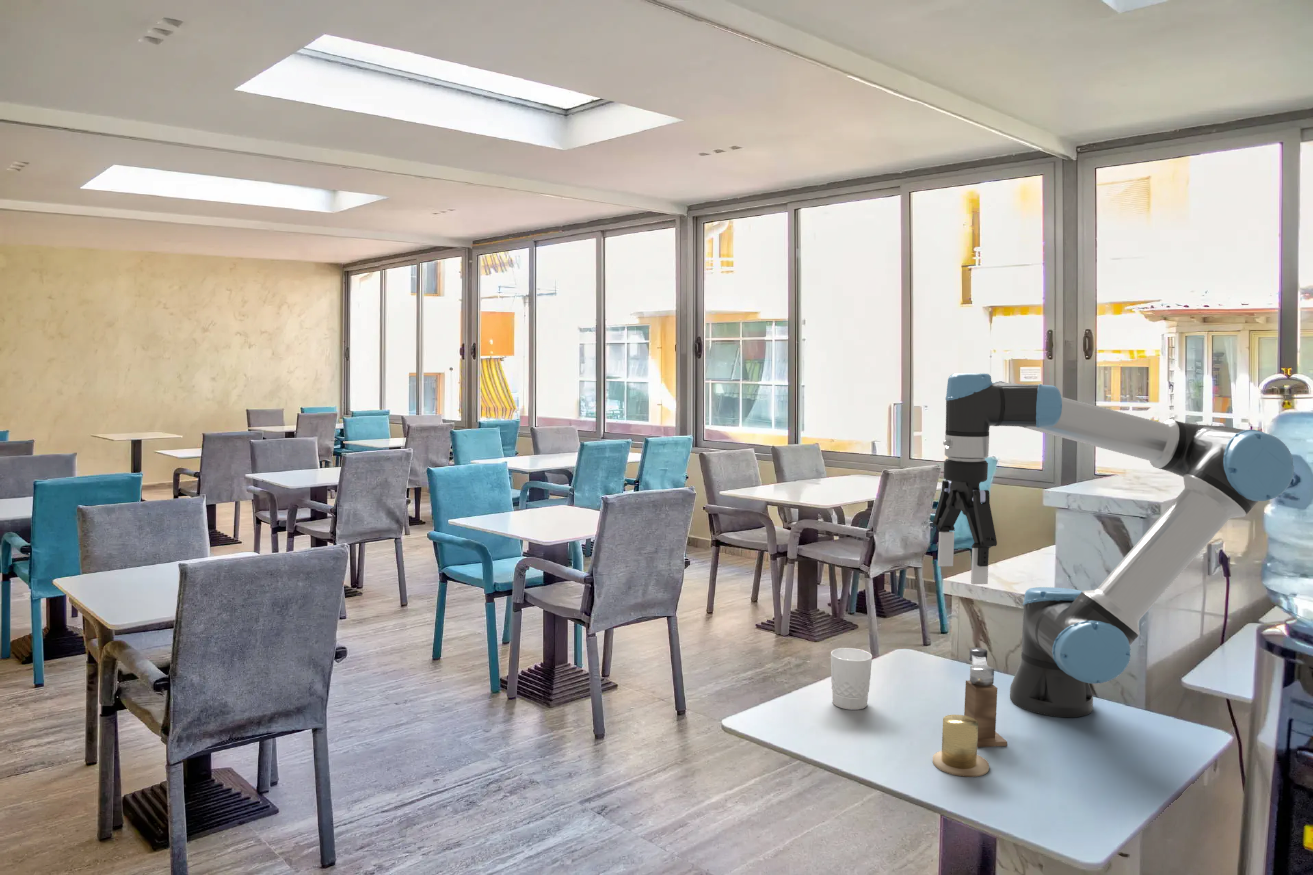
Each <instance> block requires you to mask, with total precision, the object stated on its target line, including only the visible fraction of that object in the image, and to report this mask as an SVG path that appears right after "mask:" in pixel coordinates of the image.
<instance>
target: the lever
mask: <svg viewBox="0 0 1313 875" xmlns="http://www.w3.org/2000/svg"><path fill="white" fill-rule="evenodd" d="M968 657H969V658H968V661H970V662H971V665H970V666H969V667H970V669H969V680H970V682H972V683H974V684H977V685H985V686H987V685H992V684H993V685H994V680H995V679H994V676H995V668H993V667H992V666H989V665H988V650H987V649H986V648H983V647H978V646H977V647H970V648H969V656H968Z"/></svg>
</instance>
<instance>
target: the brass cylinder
mask: <svg viewBox="0 0 1313 875" xmlns="http://www.w3.org/2000/svg"><path fill="white" fill-rule="evenodd" d="M941 734H942V737H941V751H942V756H941V760H942V762H943V763H944V764H946V765H948V766H950V767H954V768H958V769H970V768H974V767H975V766H976V763H977V755H978V747H977V741H978V721H977V720H975V719H973V718H971V717H968V716H964V715H963V714H947V715H945V716H943V718H942V732H941Z"/></svg>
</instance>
